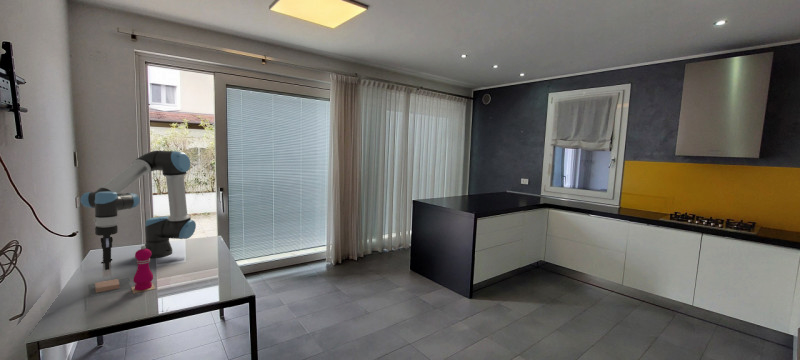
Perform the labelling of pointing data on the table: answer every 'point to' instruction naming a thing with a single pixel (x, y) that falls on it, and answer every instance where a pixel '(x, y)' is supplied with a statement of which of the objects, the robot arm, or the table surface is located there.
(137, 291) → the cork pad
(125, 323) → the table surface
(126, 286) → the mat
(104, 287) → the tile
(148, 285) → the pepper mill
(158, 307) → the table surface
